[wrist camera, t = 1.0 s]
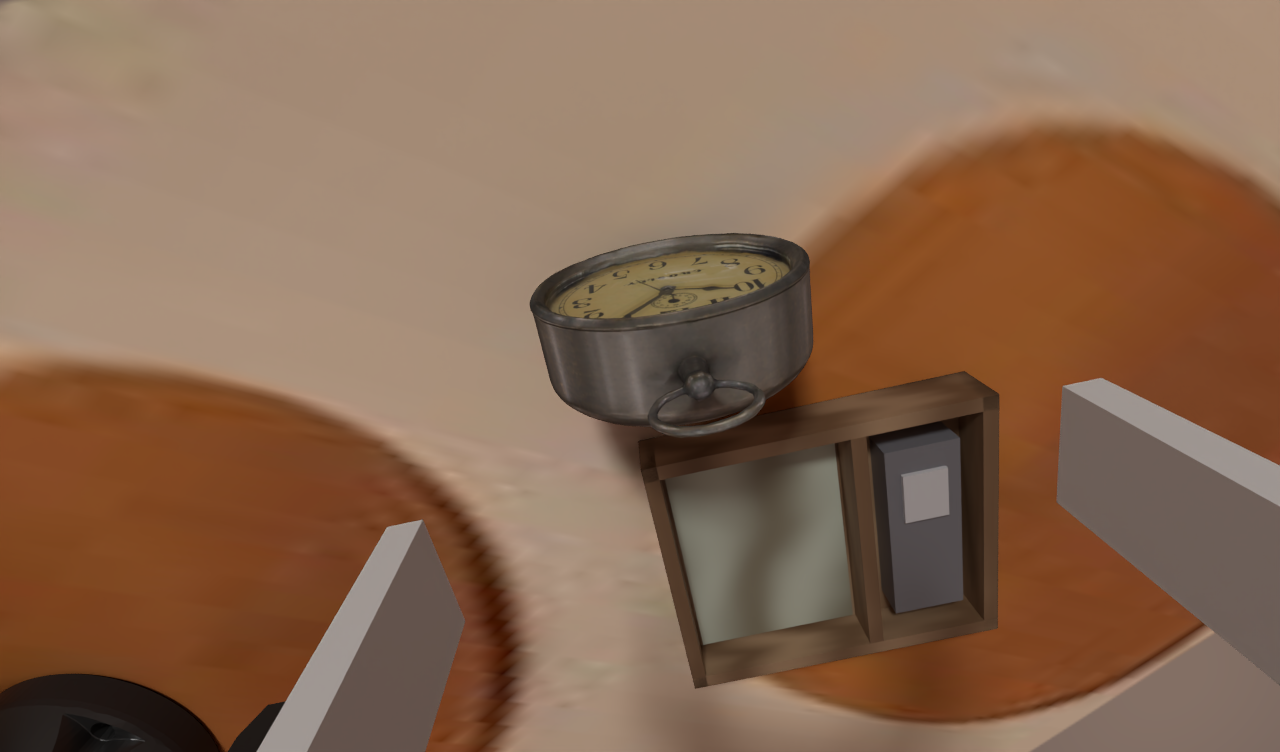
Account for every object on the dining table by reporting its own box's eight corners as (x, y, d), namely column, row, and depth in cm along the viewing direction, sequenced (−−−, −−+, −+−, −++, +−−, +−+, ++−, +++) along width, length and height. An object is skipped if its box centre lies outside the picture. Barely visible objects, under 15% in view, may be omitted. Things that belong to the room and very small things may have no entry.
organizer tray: (688, 647, 40) (695, 688, 37) (638, 441, 34) (641, 470, 31) (967, 591, 39) (997, 628, 36) (964, 371, 33) (999, 394, 30)
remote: (881, 589, 38) (897, 616, 35) (869, 436, 34) (886, 456, 31) (945, 577, 37) (965, 602, 35) (940, 421, 33) (962, 439, 31)
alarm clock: (762, 216, 30) (919, 296, 15) (772, 320, 32) (919, 485, 17) (544, 256, 30) (477, 374, 15) (567, 357, 32) (529, 552, 17)
